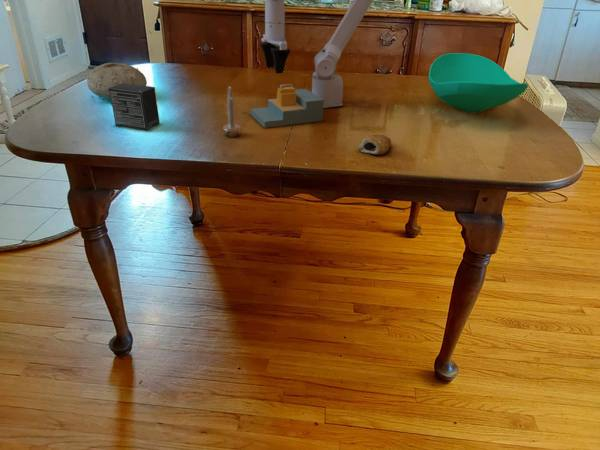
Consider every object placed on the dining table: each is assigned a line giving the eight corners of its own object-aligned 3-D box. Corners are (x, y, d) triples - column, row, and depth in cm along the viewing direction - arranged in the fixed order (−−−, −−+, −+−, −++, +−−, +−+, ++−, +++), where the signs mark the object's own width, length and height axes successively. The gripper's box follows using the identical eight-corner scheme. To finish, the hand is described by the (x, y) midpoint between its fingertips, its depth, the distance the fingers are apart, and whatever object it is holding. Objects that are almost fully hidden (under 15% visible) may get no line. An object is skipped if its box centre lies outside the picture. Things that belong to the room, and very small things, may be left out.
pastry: (373, 140, 121) (375, 126, 119) (396, 146, 118) (399, 132, 116) (356, 151, 115) (358, 137, 113) (380, 158, 111) (382, 143, 109)
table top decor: (413, 90, 163) (419, 51, 156) (490, 92, 164) (500, 54, 156) (441, 129, 130) (450, 82, 123) (537, 132, 130) (552, 85, 123)
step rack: (305, 108, 142) (306, 88, 139) (322, 120, 133) (323, 99, 130) (250, 114, 136) (250, 94, 133) (264, 128, 127) (264, 106, 123)
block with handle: (291, 101, 135) (291, 82, 132) (296, 104, 132) (296, 85, 129) (276, 102, 133) (276, 83, 130) (281, 106, 130) (281, 86, 127)
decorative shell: (158, 91, 153) (153, 60, 148) (132, 108, 138) (126, 74, 133) (108, 87, 155) (102, 57, 150) (78, 103, 140) (70, 70, 135)
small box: (161, 123, 127) (156, 86, 122) (147, 131, 122) (141, 92, 116) (129, 118, 130) (123, 81, 124) (114, 126, 125) (107, 87, 119)
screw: (222, 132, 123) (240, 131, 124) (223, 138, 119) (241, 138, 120) (219, 83, 116) (238, 83, 117) (220, 88, 112) (239, 88, 113)
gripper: (253, 18, 137) (254, 65, 145) (271, 26, 126) (271, 76, 133) (275, 18, 140) (275, 64, 147) (294, 26, 129) (293, 75, 136)
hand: (274, 70), depth 140 cm, fingers open, 7 cm apart
